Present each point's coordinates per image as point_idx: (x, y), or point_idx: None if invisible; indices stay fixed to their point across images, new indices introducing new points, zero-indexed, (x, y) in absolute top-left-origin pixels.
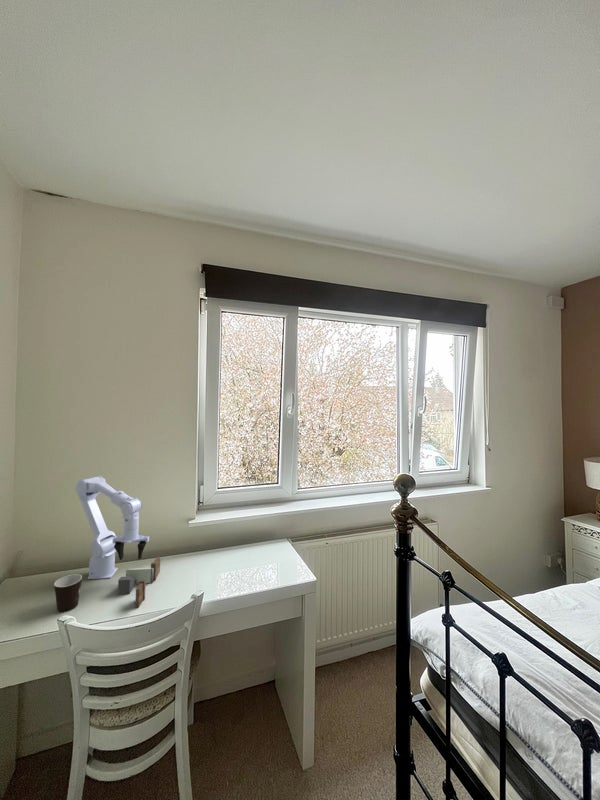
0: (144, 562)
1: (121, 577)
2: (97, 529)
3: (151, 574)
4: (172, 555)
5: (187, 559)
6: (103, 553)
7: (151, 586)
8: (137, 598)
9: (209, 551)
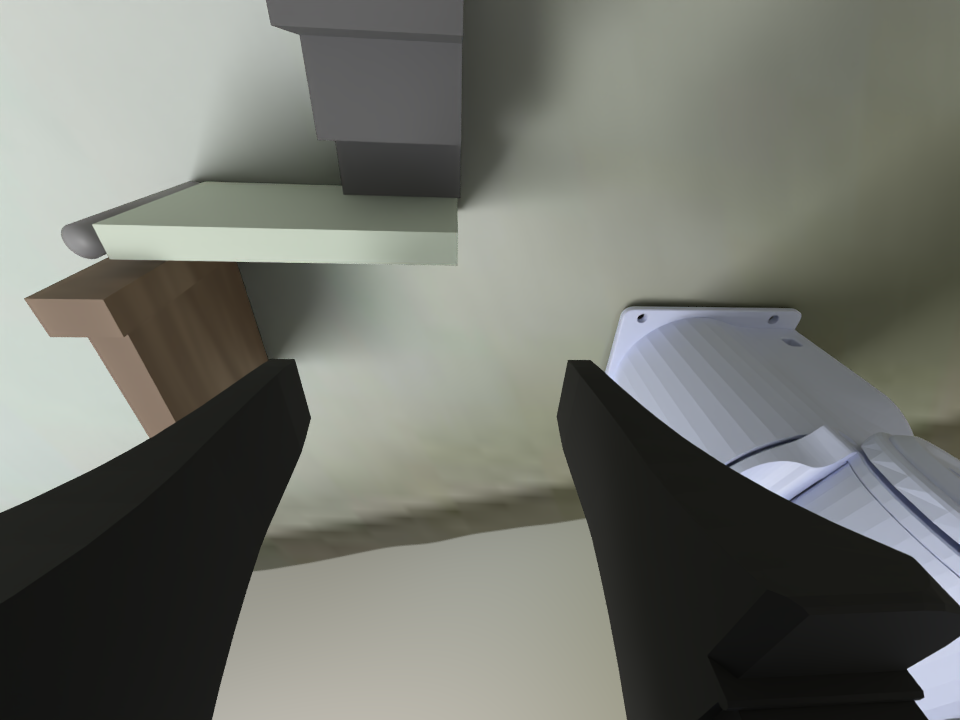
0: (437, 474)
1: (446, 6)
2: None
3: (136, 202)
4: (286, 529)
5: None
6: (869, 479)
7: (153, 111)
8: None
9: None
